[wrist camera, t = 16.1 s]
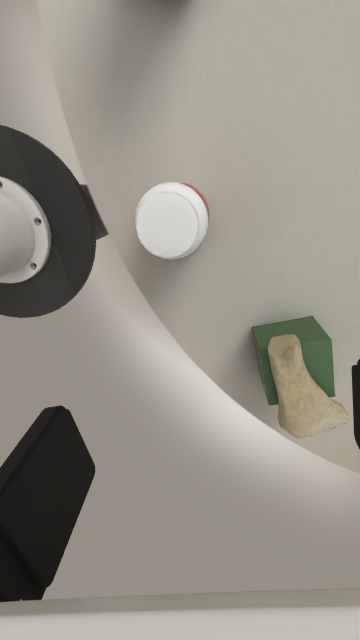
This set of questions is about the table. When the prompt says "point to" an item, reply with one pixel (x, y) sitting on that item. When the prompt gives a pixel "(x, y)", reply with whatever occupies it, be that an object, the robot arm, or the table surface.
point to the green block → (312, 346)
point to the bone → (300, 392)
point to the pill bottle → (172, 220)
